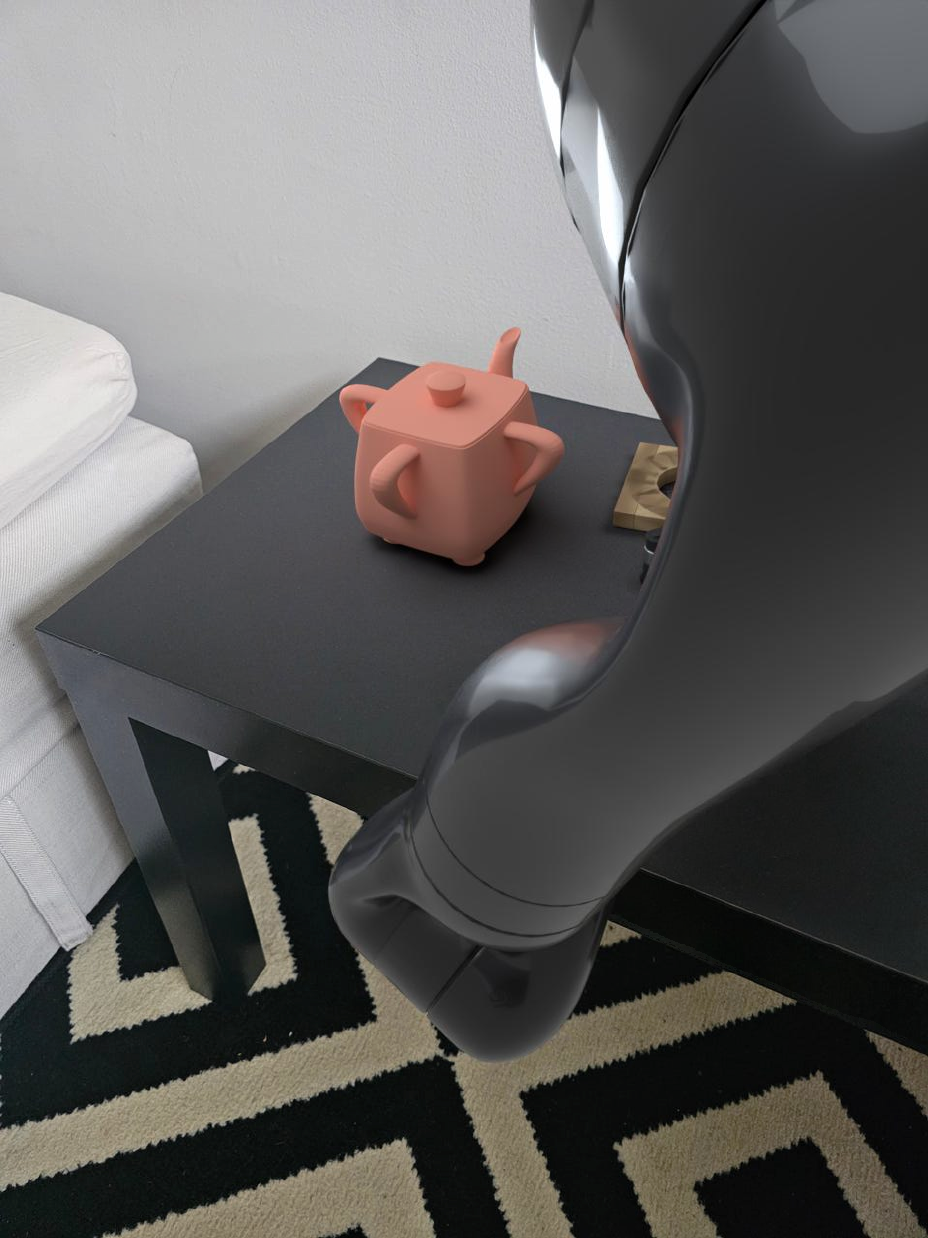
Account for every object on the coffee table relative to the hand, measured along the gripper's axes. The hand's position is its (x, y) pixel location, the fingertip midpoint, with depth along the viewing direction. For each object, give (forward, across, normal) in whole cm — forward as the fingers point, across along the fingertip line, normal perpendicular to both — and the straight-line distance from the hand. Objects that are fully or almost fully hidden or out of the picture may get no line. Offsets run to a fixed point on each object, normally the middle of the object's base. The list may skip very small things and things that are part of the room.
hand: (823, 511), depth 58 cm
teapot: (+2, +30, +14) cm, 33 cm away
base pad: (+16, +16, +14) cm, 26 cm away
